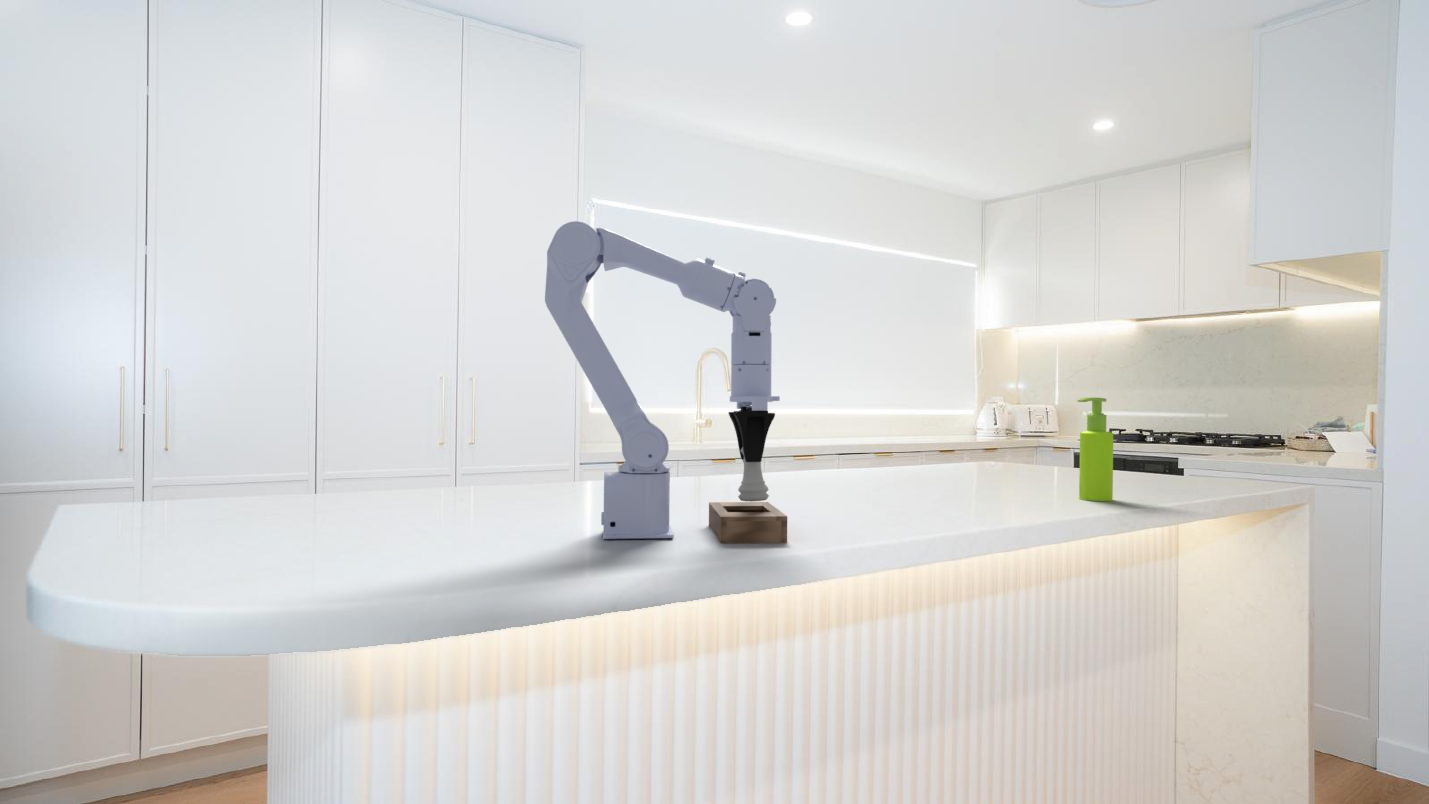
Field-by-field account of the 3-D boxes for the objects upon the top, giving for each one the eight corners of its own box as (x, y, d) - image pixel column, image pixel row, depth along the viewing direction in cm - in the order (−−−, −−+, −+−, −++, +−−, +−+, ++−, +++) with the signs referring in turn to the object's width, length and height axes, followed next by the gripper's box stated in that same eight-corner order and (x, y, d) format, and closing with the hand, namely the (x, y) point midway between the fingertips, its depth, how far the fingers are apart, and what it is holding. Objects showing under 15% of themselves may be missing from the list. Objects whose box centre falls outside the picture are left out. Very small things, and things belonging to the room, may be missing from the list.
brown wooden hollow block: (720, 543, 103) (720, 516, 103) (708, 525, 117) (708, 502, 117) (787, 542, 104) (787, 516, 104) (767, 524, 118) (767, 501, 118)
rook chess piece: (769, 501, 108) (767, 443, 108) (737, 502, 108) (735, 444, 108) (769, 496, 112) (767, 441, 112) (738, 497, 113) (736, 442, 113)
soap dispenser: (1068, 497, 154) (1069, 397, 153) (1096, 496, 156) (1097, 397, 156) (1090, 501, 148) (1092, 397, 148) (1119, 500, 150) (1120, 397, 150)
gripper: (789, 363, 103) (789, 465, 103) (769, 367, 118) (769, 456, 118) (737, 363, 102) (737, 465, 103) (723, 366, 117) (723, 456, 117)
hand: (751, 460), depth 110 cm, fingers closed on rook chess piece, 3 cm apart
